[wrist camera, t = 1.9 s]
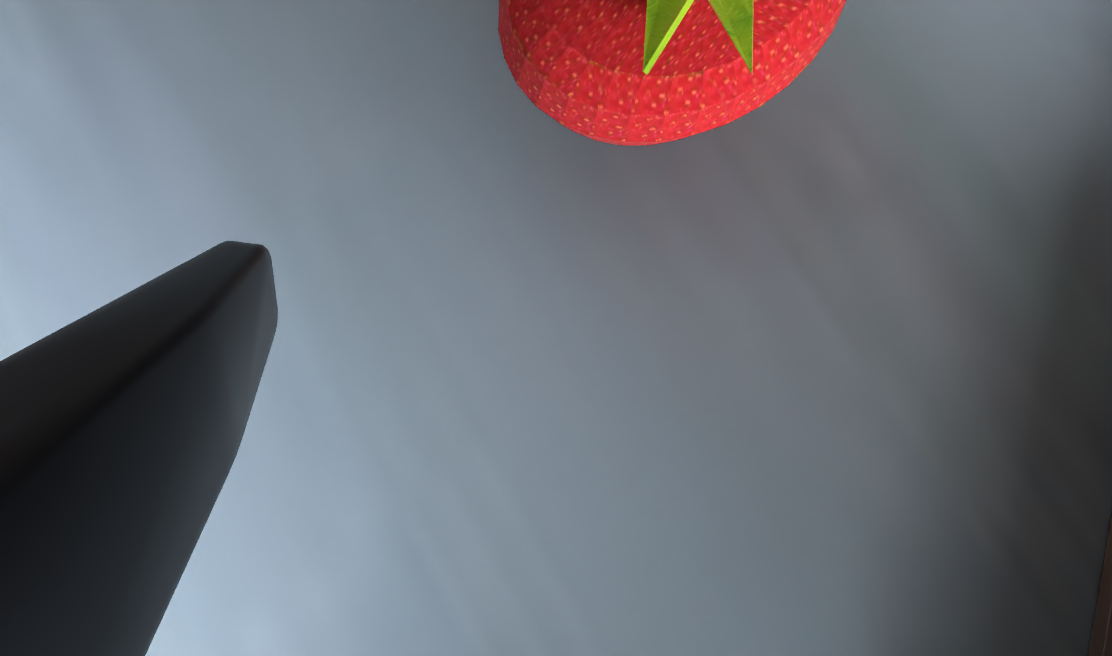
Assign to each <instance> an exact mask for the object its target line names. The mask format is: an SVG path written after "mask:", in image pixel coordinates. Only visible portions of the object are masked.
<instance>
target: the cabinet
mask: <svg viewBox="0 0 1112 656" xmlns="http://www.w3.org/2000/svg"><path fill="white" fill-rule="evenodd" d="M1088 656H1112V517H1111V523H1110V529H1109V535H1108V541H1107V547H1106V553H1105V559H1104V565H1103V570H1102V576H1101V582H1100V588H1099V594H1098V600H1097V606H1096V612H1095V618H1094V623H1093V629H1092V635H1091V641H1090V647H1089V653H1088Z"/></svg>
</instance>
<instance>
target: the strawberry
mask: <svg viewBox="0 0 1112 656" xmlns="http://www.w3.org/2000/svg"><path fill="white" fill-rule="evenodd" d="M845 3H846V0H499V24H498V31H499V35H500V40H501V45H502V50H503V55H504V59H505V61H506V63H507V65H508V67H509V69H510V71H511V73H512V75H513V77H514V79H515V81H516V83H517V85H518V86H519V87H520V88H521V89H522V90H523V92H524V93H525V94H526V95H527V96H528V97H529V99H530V100H531V101H532V102H533V103H534V104H535V106H536V107H538V108H539V109H541V110H542V111H544V112H545V113H546V114H548V115H549V116H551V117H552V118H553V119H555V120H556V121H558V122H559V123H560V124H562V125H564V126H565V127H567V128H568V129H570V130H571V131H573V132H576V133H578V134H581V135H583V136H586V137H588V138H591V139H593V140H595V141H600V142H606V143H611V144H617V145H654V144H659V143H664V142H670V141H675V140H679V139H682V138H686V137H689V136H692V135H695V134H698V133H701V132H704V131H707V130H710V129H713V128H716V127H719V126H722V125H725V124H728V123H730V122H732V121H734V120H736V119H737V118H739V117H741V116H743V115H745V114H747V113H749V112H751V111H753V110H754V109H756V108H758V107H760V106H761V105H763V104H764V103H765V102H767V101H768V100H769V99H771V98H772V97H773V96H775V95H776V94H777V93H779V92H780V91H781V90H783V89H784V88H785V87H787V86H788V85H789V84H790V83H791V82H792V81H793V80H794V79H795V78H796V77H797V76H798V75H799V74H800V73H801V72H802V71H803V70H804V69H805V68H806V67H807V65H808V64H809V63H810V62H811V61H812V60H813V59H814V58H815V56H816V55H817V54H818V52H819V51H820V49H821V48H822V46H823V45H824V43H825V42H826V40H827V39H828V37H829V36H830V34H831V33H832V31H833V30H834V27H835V25H836V23H837V21H838V18H839V16H840V14H841V12H842V9H843V7H844V5H845Z"/></svg>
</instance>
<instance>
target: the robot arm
mask: <svg viewBox="0 0 1112 656" xmlns="http://www.w3.org/2000/svg"><path fill="white" fill-rule="evenodd" d="M277 320H278V307H277V299H276V291H275V283H274V275H273V268H272V260H271V256H270V253H269V251H268V249H267V248H266V247H264V246H263V245H260V244H252V243H244V242H237V241H225V242H223V243H220V244H218V245H216V246H215V247H213V248H211V249H209V250H207V251H205V252H203V253H201V254H200V255H198V256H196V257H194V258H192V259H190V260H188V261H187V262H185V263H183V264H181V265H179V266H177V267H175V268H173V269H172V270H170V271H168V272H166V273H164V274H162V275H160V276H159V277H157V278H155V279H153V280H151V281H149V282H147V283H145V284H144V285H142V286H140V287H138V288H136V289H134V290H132V291H130V292H129V293H127V294H125V295H123V296H121V297H119V298H117V299H116V300H114V301H112V302H110V303H108V304H106V305H104V306H102V307H101V308H99V309H97V310H95V311H93V312H91V313H89V314H88V315H86V316H84V317H82V318H80V319H78V320H76V321H74V322H73V323H71V324H69V325H67V326H65V327H63V328H61V329H60V330H58V331H56V332H54V333H52V334H50V335H48V336H46V337H45V338H43V339H41V340H39V341H37V342H35V343H33V344H32V345H30V346H28V347H26V348H24V349H22V350H20V351H18V352H17V353H15V354H13V355H11V356H9V357H7V358H5V359H3V360H2V361H0V656H145V655H146V653H147V650H148V648H149V646H150V644H151V642H152V639H153V637H154V635H155V633H156V631H157V629H158V626H159V624H160V622H161V620H162V618H163V615H164V613H165V611H166V609H167V607H168V605H169V602H170V600H171V598H172V596H173V594H174V591H175V589H176V587H177V585H178V583H179V581H180V578H181V576H182V574H183V572H184V570H185V567H186V565H187V563H188V561H189V559H190V557H191V554H192V552H193V550H194V548H195V546H196V543H197V541H198V539H199V537H200V535H201V533H202V530H203V528H204V526H205V524H206V522H207V519H208V517H209V515H210V513H211V511H212V509H213V506H214V504H215V502H216V500H217V498H218V495H219V493H220V491H221V489H222V487H223V485H224V482H225V480H226V478H227V476H228V474H229V471H230V469H231V466H232V464H233V462H234V459H235V457H236V455H237V452H238V449H239V446H240V443H241V440H242V437H243V434H244V431H245V428H246V425H247V421H248V418H249V415H250V412H251V409H252V405H253V402H254V399H255V396H256V393H257V389H258V386H259V383H260V380H261V377H262V374H263V370H264V367H265V364H266V361H267V358H268V354H269V351H270V348H271V345H272V342H273V338H274V335H275V332H276V327H277Z"/></svg>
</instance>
